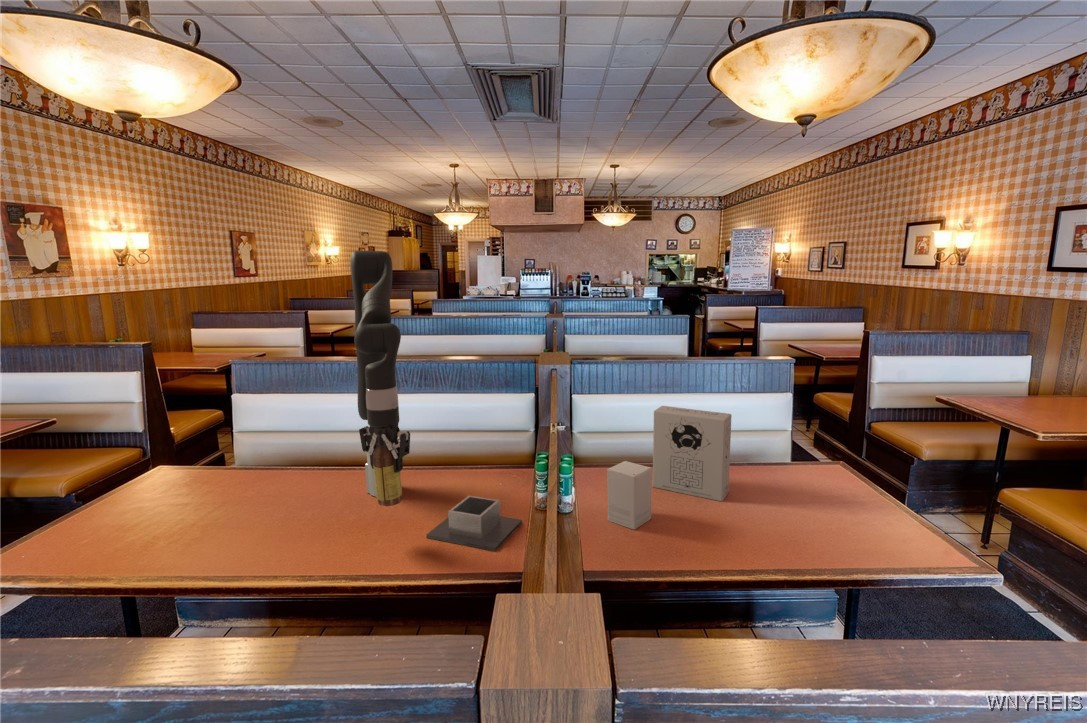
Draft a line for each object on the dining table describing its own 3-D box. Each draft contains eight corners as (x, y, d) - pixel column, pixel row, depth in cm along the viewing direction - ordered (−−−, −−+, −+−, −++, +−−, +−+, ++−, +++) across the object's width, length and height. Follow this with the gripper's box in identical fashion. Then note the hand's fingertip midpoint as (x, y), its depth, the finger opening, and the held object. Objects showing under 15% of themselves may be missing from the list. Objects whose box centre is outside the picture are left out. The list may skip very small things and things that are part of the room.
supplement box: (652, 519, 147) (653, 467, 144) (634, 530, 140) (634, 476, 138) (625, 509, 153) (625, 459, 151) (606, 520, 147) (606, 468, 144)
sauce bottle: (406, 497, 138) (402, 423, 134) (397, 508, 132) (392, 430, 128) (381, 496, 139) (376, 422, 135) (371, 507, 132) (366, 430, 129)
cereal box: (728, 492, 163) (731, 413, 159) (722, 502, 157) (725, 419, 153) (660, 479, 175) (662, 405, 170) (652, 487, 168) (653, 410, 164)
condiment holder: (426, 537, 139) (425, 512, 138) (458, 512, 153) (457, 489, 152) (495, 551, 131) (494, 525, 130) (522, 523, 146) (521, 499, 145)
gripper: (348, 406, 130) (353, 471, 133) (397, 411, 125) (401, 479, 128) (369, 399, 137) (373, 461, 140) (416, 403, 131) (419, 468, 134)
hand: (387, 469), depth 134 cm, fingers closed on sauce bottle, 6 cm apart
